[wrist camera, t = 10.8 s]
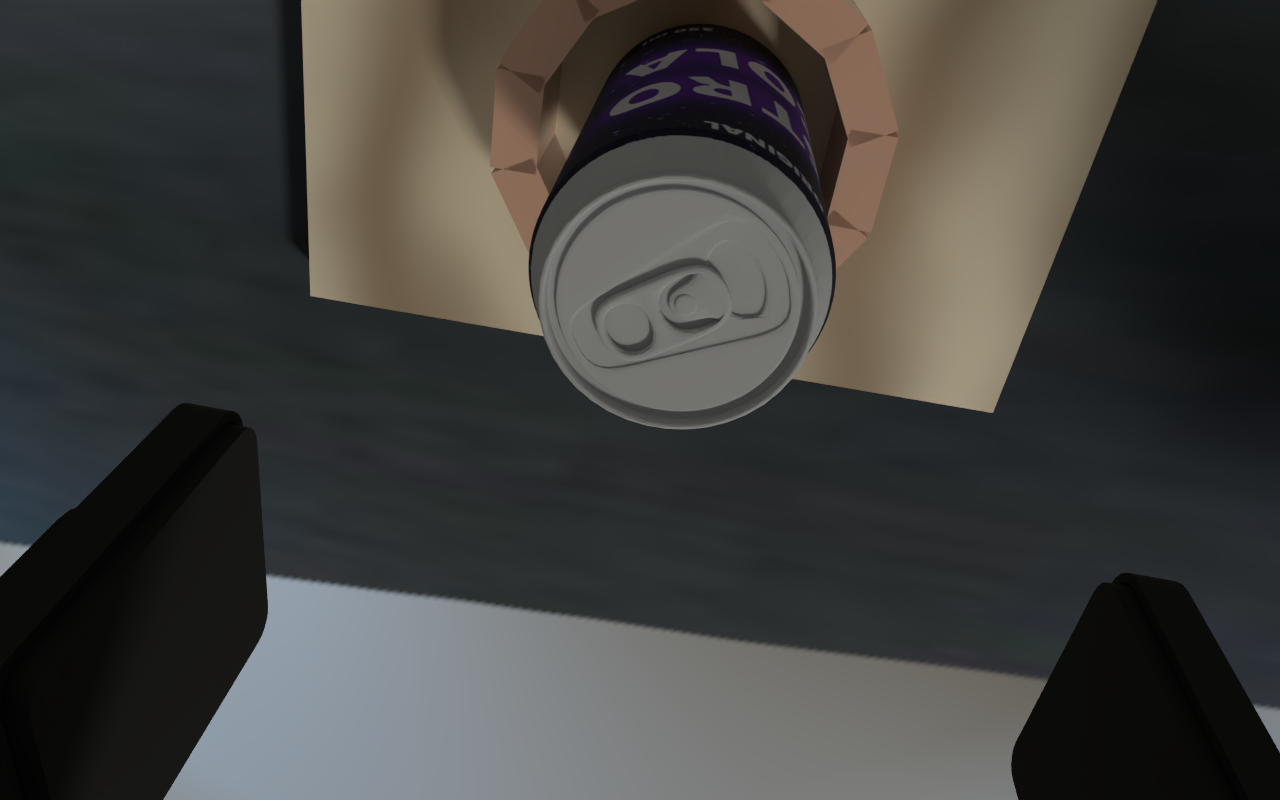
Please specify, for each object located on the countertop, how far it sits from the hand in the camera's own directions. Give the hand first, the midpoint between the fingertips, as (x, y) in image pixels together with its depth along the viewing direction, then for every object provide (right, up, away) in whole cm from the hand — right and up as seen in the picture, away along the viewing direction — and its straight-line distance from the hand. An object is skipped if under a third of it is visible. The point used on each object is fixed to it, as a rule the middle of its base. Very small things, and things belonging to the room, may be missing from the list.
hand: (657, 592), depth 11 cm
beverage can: (+2, +10, +16) cm, 19 cm away
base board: (+1, +11, +18) cm, 21 cm away
